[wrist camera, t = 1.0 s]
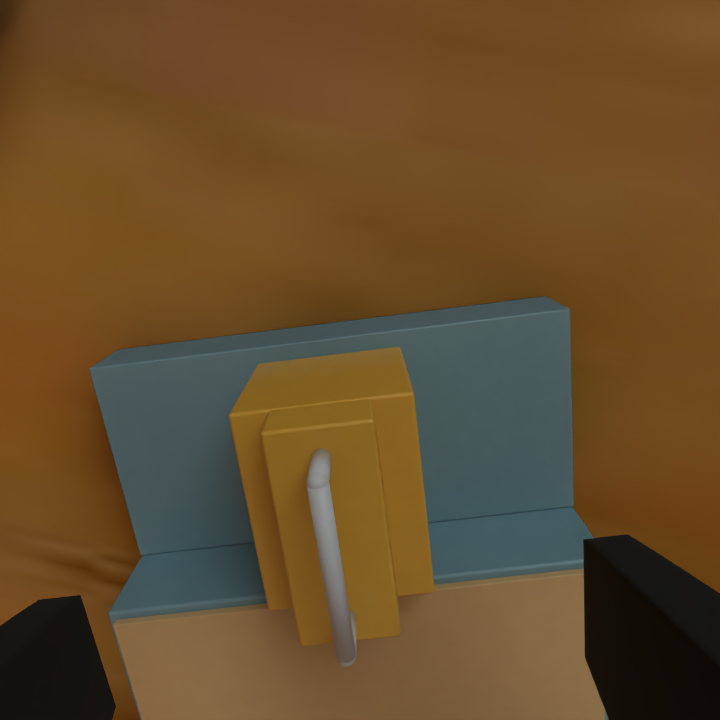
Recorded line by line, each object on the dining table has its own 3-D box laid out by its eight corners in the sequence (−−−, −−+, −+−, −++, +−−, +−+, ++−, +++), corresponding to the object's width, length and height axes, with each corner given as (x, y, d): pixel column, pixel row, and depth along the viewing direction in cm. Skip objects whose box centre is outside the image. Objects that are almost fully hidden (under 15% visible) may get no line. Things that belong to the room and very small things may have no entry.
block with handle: (418, 508, 15) (452, 680, 10) (286, 523, 15) (249, 701, 10) (400, 345, 14) (429, 440, 9) (256, 363, 14) (195, 467, 9)
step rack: (561, 781, 20) (646, 1022, 14) (237, 813, 21) (189, 1062, 15) (546, 295, 15) (666, 360, 9) (117, 349, 16) (-28, 443, 10)
